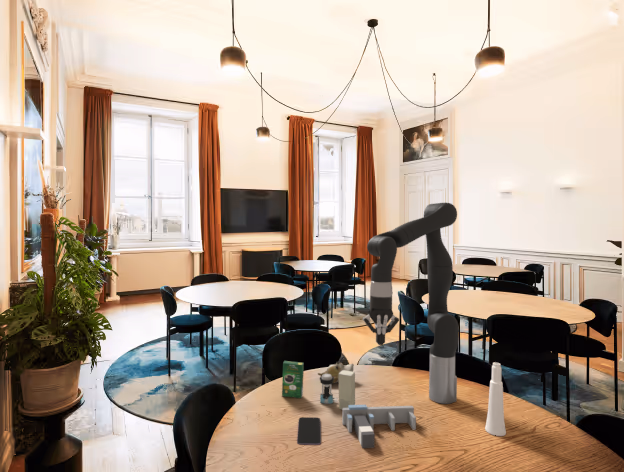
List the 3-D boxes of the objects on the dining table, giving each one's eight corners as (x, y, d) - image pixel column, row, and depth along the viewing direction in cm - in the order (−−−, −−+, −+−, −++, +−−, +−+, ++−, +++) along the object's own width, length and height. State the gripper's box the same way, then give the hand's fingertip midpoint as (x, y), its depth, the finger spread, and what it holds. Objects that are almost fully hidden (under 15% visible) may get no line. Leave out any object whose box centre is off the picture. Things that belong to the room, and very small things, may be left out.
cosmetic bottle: (507, 438, 116) (508, 367, 116) (485, 434, 118) (487, 365, 118) (504, 428, 122) (505, 361, 122) (484, 425, 124) (485, 359, 124)
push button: (337, 399, 142) (337, 373, 141) (337, 405, 136) (337, 378, 136) (319, 398, 142) (319, 372, 142) (319, 405, 137) (319, 378, 136)
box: (355, 407, 136) (356, 371, 135) (351, 412, 132) (352, 375, 131) (341, 404, 138) (342, 369, 138) (337, 409, 134) (338, 373, 134)
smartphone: (296, 443, 111) (298, 417, 126) (296, 447, 111) (298, 420, 126) (321, 444, 111) (320, 417, 126) (321, 447, 111) (320, 420, 126)
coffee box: (303, 395, 144) (304, 361, 144) (302, 398, 142) (302, 364, 141) (283, 393, 146) (284, 360, 146) (281, 396, 143) (282, 362, 143)
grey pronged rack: (411, 420, 127) (412, 403, 127) (418, 429, 121) (419, 411, 120) (342, 422, 124) (342, 405, 124) (345, 432, 118) (345, 414, 118)
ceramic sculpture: (357, 364, 155) (322, 368, 152) (358, 384, 155) (323, 389, 152) (349, 356, 165) (316, 359, 162) (350, 375, 165) (317, 379, 163)
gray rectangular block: (353, 427, 122) (353, 414, 122) (364, 426, 122) (364, 414, 122) (362, 448, 110) (362, 434, 110) (374, 447, 110) (374, 433, 110)
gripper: (396, 292, 133) (395, 341, 133) (359, 292, 131) (359, 341, 132) (403, 296, 125) (402, 347, 125) (364, 296, 124) (364, 348, 124)
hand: (380, 344), depth 128 cm, fingers closed
